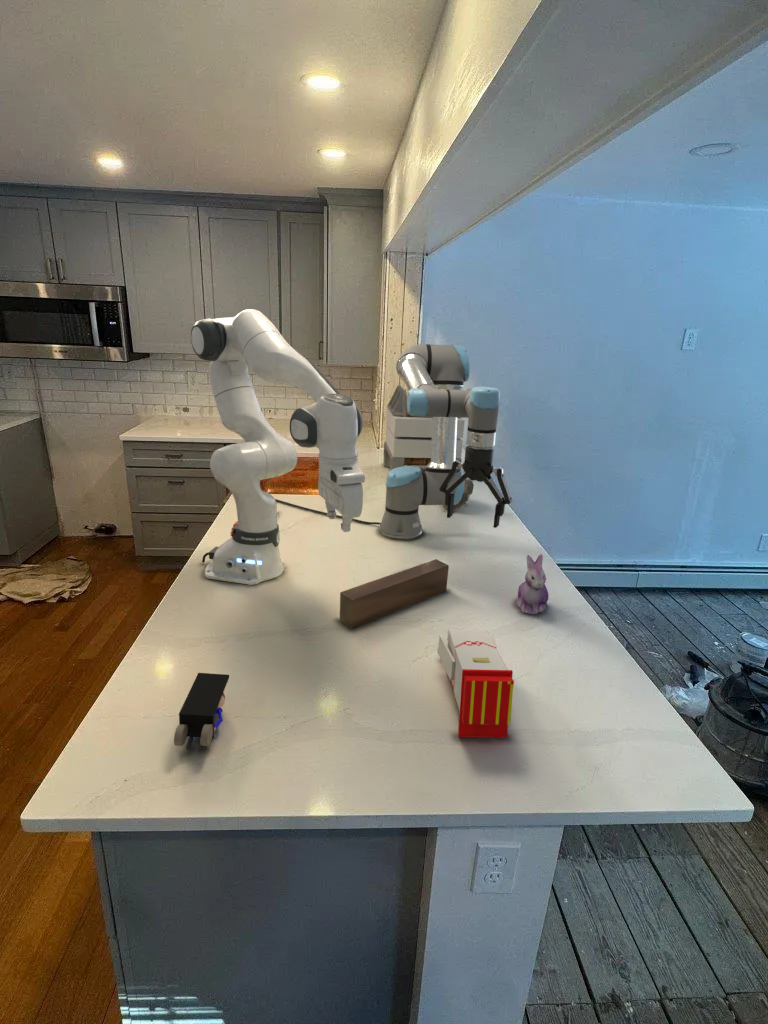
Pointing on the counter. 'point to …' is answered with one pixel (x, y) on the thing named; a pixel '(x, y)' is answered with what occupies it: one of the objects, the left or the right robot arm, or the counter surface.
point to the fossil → (464, 494)
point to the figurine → (533, 588)
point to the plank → (392, 593)
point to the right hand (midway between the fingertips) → (472, 521)
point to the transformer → (410, 435)
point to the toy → (478, 682)
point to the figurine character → (201, 710)
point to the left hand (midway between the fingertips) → (338, 524)
